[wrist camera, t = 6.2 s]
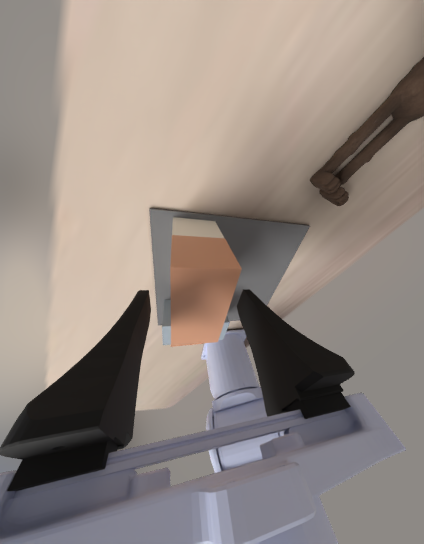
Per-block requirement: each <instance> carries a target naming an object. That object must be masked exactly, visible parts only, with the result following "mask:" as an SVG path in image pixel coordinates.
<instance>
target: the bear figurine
mask: <svg viewBox="0 0 424 544" xmlns="http://www.w3.org/2000/svg"><path fill="white" fill-rule="evenodd" d="M390 115H392V116H393V118H394V120H393V121H392V122H391V123H389V124H388V125H387V126H386V127H385V128H384V129H383V130H382V131H381V132H380V133H379V134H378V135H377V136H376V137H375V138H374V139H373V140H372V141H371V142H370V143H369V144H368V145H367V146H366V147H365V148H364V149H363V150H362V151H361V152H360V153H358V154H357V155H356V156H355V157H354V158H353V159H352V160H351V161H350V162H349V163H348V164H347V165H346V166H345V167H344V168H343V169H342V170H341V171H340V172H339V173H338V174H337V175H336V176H335V175H334V174H332V173H333V172H334V171H335V170H336V169H337V168H338V167H339V166H340V165H341V164H342V163H343V162H344V161H345V160H346V159H347V158H348V157H349V156H350V155H352V154H353V153H354V152H355V151H356V150H357V149H358V147H359V146H360V145H361V144H362V143H363V142H364V141H365V140H366V139H367V138H368V137H369V136H370V135H371V134H372V133H373V132H374V131H375V130H376V129H377V128H378V127H379V126H380V125H381V124H382V123H383V122H384V121H385V120H386V119H387V118H388V117H389V116H390ZM422 116H424V58H423V59H422V60H421V61H420V62H419V63H417V64H416V65H415V66H414V67H413V68H412V70H411V72H410V73H409V74H408V75H407V76H406V77H405V78H404V79H403V80H402V81H401V82H400V83H399V84H398V85H397V86H396V87H395V89H394V90H393V91H392V93H391V95H390V97H389V98H388V99H387V100H386V101H385V102H384V103H383V104H382V105H381V106H380V107H379V108H378V109H377V110H376V111H375V113H374V114H373V115H372V116H371V117H370V118H369V119H368V120H367V121H366V122H365V123H364V124H363V125H362V126H361V127H360V128H359V129H358V130H357V131H356V132H355V133H353V134H352V135H351V136H350V137H349V138H348V141H347V142H346V143H345V144H344V145H343V146H342V147H341V148H339V149H338V150H337V151H336V152H335V154H334V155H333V156H332V158H331V159H330V160H329V161H328V162H327V163H326V164H325V165H324V166H323V167H322V168H321V169H320V170H319V171H318V172H316V173H315V174H314V175H313V176H312V177H311V179H310V181H311V183H312V184H313V185H314V186H315V187H317V188H319V189H321V190H320V194H321V195H322V196H323V197H324V198H325V199H327V200H329V201H330V202H332V203H333V204H335V205H337V206H341V205H343V204H345V203H346V202H347V200H348V198H349V197H348V192H346V191H345V189H344V188H342V187H340V186H341V185H342V184H344V183H345V182H347V180H348V179H349V178H350V177H351V176H352V175H353V174H354V173H355V172H356V171H357V170H358V169H359V168H360V167H361V166H363V165H364V164H365V163H366V162H369V161H370V160H371V158H372V157H373V156H374V154H375V153H376V152H378V151H379V150H380V149H381V148H382V147H383V146H384V145H385V144H386V143H387V142H388V141H389V140H391V139H392V138H393V137H394V136H395V135H396V134H397V133H398V132H399V131H400V130H401V129H402V128H403V127H405V126H406V125H407V124H408V123H409V122H411V121H413V120H416V119H418V118H420V117H422Z"/></svg>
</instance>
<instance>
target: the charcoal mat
mask: <svg viewBox="0 0 424 544" xmlns="http://www.w3.org/2000/svg"><path fill="white" fill-rule="evenodd" d="M149 211H150V224H151V237H152V251H153V264H154V277H155V291H156V304H157V317H158V325H162V322H163V309H164V300H171V284H170V265H171V244H172V229H173V217H178V218H188V219H198V220H208V221H215V222H216V224H217V226H218V227H219V229H220V231H221V233H222V235H223V236H224V238H225V239H226V241H227V243H228V245H229V247H230V248H231V250H232V252H233V254H234V256H235V257H236V259H237V261H238V263H239V265H240V266H241V268H242V270H241V273H240V276H239V279H238V282H237V285H236V288H235V291H234V294H233V297H232V300H231V303H230V306H229V310H228V313H227V315H228V318H229V321H237V320H240V318H239V314H238V310H237V304H238V301H239V299H240V296H241V293H242V291H243V289H250V290H251V291H252V292H253V293H254V294H255V295H256V296H257V297H258V298H259V299H260V300H261V301H262V302H263V303H264V304H265V305H266V306H267V304H268V302H269V301H270V299H271V297H272V295H273V293H274V291H275V290H276V288H277V286H278V284H279V282H280V280H281V279H282V277H283V275H284V273H285V271H286V269H287V267H288V266H289V264H290V262H291V260H292V258H293V256H294V255H295V253H296V251H297V249H298V247H299V245H300V244H301V242H302V240H303V238H304V236H305V234H306V232H307V231H308V229H309V227H310V226H309V225H303V224H294V223H284V222H275V221H266V220H257V219H247V218H238V217H229V216H220V215H210V214H201V213H192V212H183V211H173V210H164V209H155V208H150V209H149Z"/></svg>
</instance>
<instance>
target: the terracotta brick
mask: <svg viewBox="0 0 424 544" xmlns="http://www.w3.org/2000/svg"><path fill="white" fill-rule="evenodd" d="M241 270H242V268H241V266H240V265H239V263H238V261H237V259H236V257H235V256H234V254H233V252H232V250H231V248H230V247H229V245H228V243H227V241H226V239H225V238H211V237H195V236H180V235H172V244H171V265H170V284H171V347H173V346H183V345H193V344H204V343H214V342H218V340H219V337H220V334H221V331H222V328H223V325H224V322H225V319H226V316H227V313H228V310H229V306H230V303H231V300H232V297H233V294H234V291H235V288H236V285H237V282H238V279H239V276H240V273H241Z"/></svg>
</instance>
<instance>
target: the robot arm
mask: <svg viewBox="0 0 424 544" xmlns="http://www.w3.org/2000/svg"><path fill="white" fill-rule="evenodd" d="M237 310H238V314H239V318H240V321H241V323H242V326H243V328H244V329H243V330H230V331H226V334H225V336H224V339H223V340H218V342H214V343H204V347H203V351H202V355H201V359H206V362H207V369H208V375H209V382H210V389H211V392H212V395H213V397H214V401H212V405H213V408H210V410H209V413H208V415H207V419H206V431H203V432H199V433H194V434H190V435H185V436H181V437H177V438H172V439H168V440H163V441H159V442H155V443H150V444H146V445H142V446H137V447H133V448H129V449H125V450H120V451H117V450H118V449H122V448H124V447H126V446H127V445H128V443H129V442H130V441H131V439H132V436H133V426H134V416H135V407H136V398H137V389H138V381H139V373H140V365H141V359H142V353H143V349H144V345H145V340H146V336H147V331H148V327H149V322H150V313H151V306H150V297H149V290H139V291H138V292H137V294H136V296H135V297H134V299H133V301H132V302H131V304H130V305H129V307H128V308H127V309H126V311H125V312H124V313H123V315H122V316H121V317H120V319H119V320H118V321H117V322H116V324H115V325H114V326H113V327H112V328H111V330H110V331H109V332H108V333H107V334H106V335H105V336H104V337H103V338H102V339H101V340H100V342H99V343H98V344H97V345H96V346H95V347H94V348H93V349H92V350H91V351H89V352H88V353H87V354H86V355H85V356H84V357H83V358H82V359H81V360H80V361H79V362H78V363H77V364H75V365H74V366H73V367H72V368H71V369H70V370H69V371H67V372H66V373H65V374H64V375H63V376H62V377H60V378H59V379H58V380H57V381H56V382H54V383H53V384H52V385H51V386H49V387H48V388H47V389H46V390H44V391H43V392H42V393H41V394H40V395H38V396H37V397H36V398H34V399H33V400H32V401H30V402H29V403H28V404H27V406H26V407H25V409H24V410H23V411H22V413H21V414H20V416H19V417H18V419H17V420H16V422H15V423H14V425H13V427H12V428H11V430H10V432H9V434H8V435H7V437H6V439H5V440H4V442H3V444H2V445H1V447H0V455H2V456H5V457H11V458H17V459H23V460H22V462H21V464H20V466H19V468H18V470H17V471H8V472H3V473H0V544H339V543H338V541H337V539H336V536H335V534H334V531H333V529H332V526H331V524H330V521H329V519H328V517H327V514H326V512H325V509H324V507H323V505H322V502H321V500H320V497H319V495H321V494H323V493H325V492H326V491H328V490H330V489H332V488H334V487H335V486H337V485H339V484H341V483H342V482H344V481H346V480H348V479H350V478H352V477H353V476H355V475H357V474H359V473H360V472H362V471H364V470H366V469H368V468H369V467H371V466H373V465H375V464H377V463H378V462H380V461H382V460H384V459H386V458H389V457H391V456H393V455H396V454H398V453H400V452H403V451H406V448H405V447H404V445H403V444H402V443H401V441H400V440H399V439H398V438H397V436H396V435H395V434H394V432H393V431H392V430H391V429H390V427H389V426H388V425H387V423H386V422H385V421H384V419H383V418H382V417H381V416H380V414H379V413H378V412H377V410H376V409H375V408H374V406H373V405H372V404H371V403H370V401H369V400H368V399H367V397H366V396H365V395H364V393H357V394H352V395H349V396H345V397H344V396H343V394H342V393H341V392H342V391H343V389H342V388H341V386H340V384H341V383H343V382H344V381H346V380H347V379H349V378H351V377H352V376H353V375H354V371H353V369H352V368H351V367H350V366H349V364H348V363H347V362H346V361H345V359H344V358H343V357H341V356H339V355H337V354H335V353H333V352H331V351H329V350H327V349H326V348H324V347H322V346H320V345H319V344H317V343H315V342H313V341H312V340H310V339H309V338H307V337H306V336H304V335H303V334H301V333H299V332H298V331H297V330H295V329H294V328H292V327H291V326H290V325H289V324H287V323H286V322H285V321H283V320H282V319H281V318H280V317H279V316H277V315H276V314H275V313H274V312H273V311H272V310H271V309H270V308H269V307H267V306H266V305H265V304H264V303H263V302H262V301H261V300H260V299H259V298H258V297H257V296H256V295H255V294H254V293H253V292H252V291H251V290H250V289H243V291H242V293H241V296H240V299H239V301H238V304H237ZM246 337H247V339H248V341H249V344H250V347H251V349H252V353H253V357H254V360H255V364H256V368H257V372H258V376H259V381H260V385H261V387H259V384H258V381H257V378H256V376H255V373H254V370H253V367H252V364H251V361H250V358H249V356H248V353H247V350H246V347H245V344H244V341H245V339H246ZM208 450H209V454H210V458H211V462H212V465H213V467H214V472H215V473H213V474H210V475H207V476H203V477H200V478H197V479H194V480H190V481H187V482H183V483H180V484H177V485H173V486H170V471H169V469H168V468H163V469H159V470H154V471H150V472H146V473H142V474H138V475H137V472H136V471H135V469H138V468H142V467H146V466H150V465H153V464H158V463H161V462H165V461H169V460H173V459H177V458H181V457H184V456H189V455H192V454H196V453H200V452H204V451H208Z"/></svg>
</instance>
